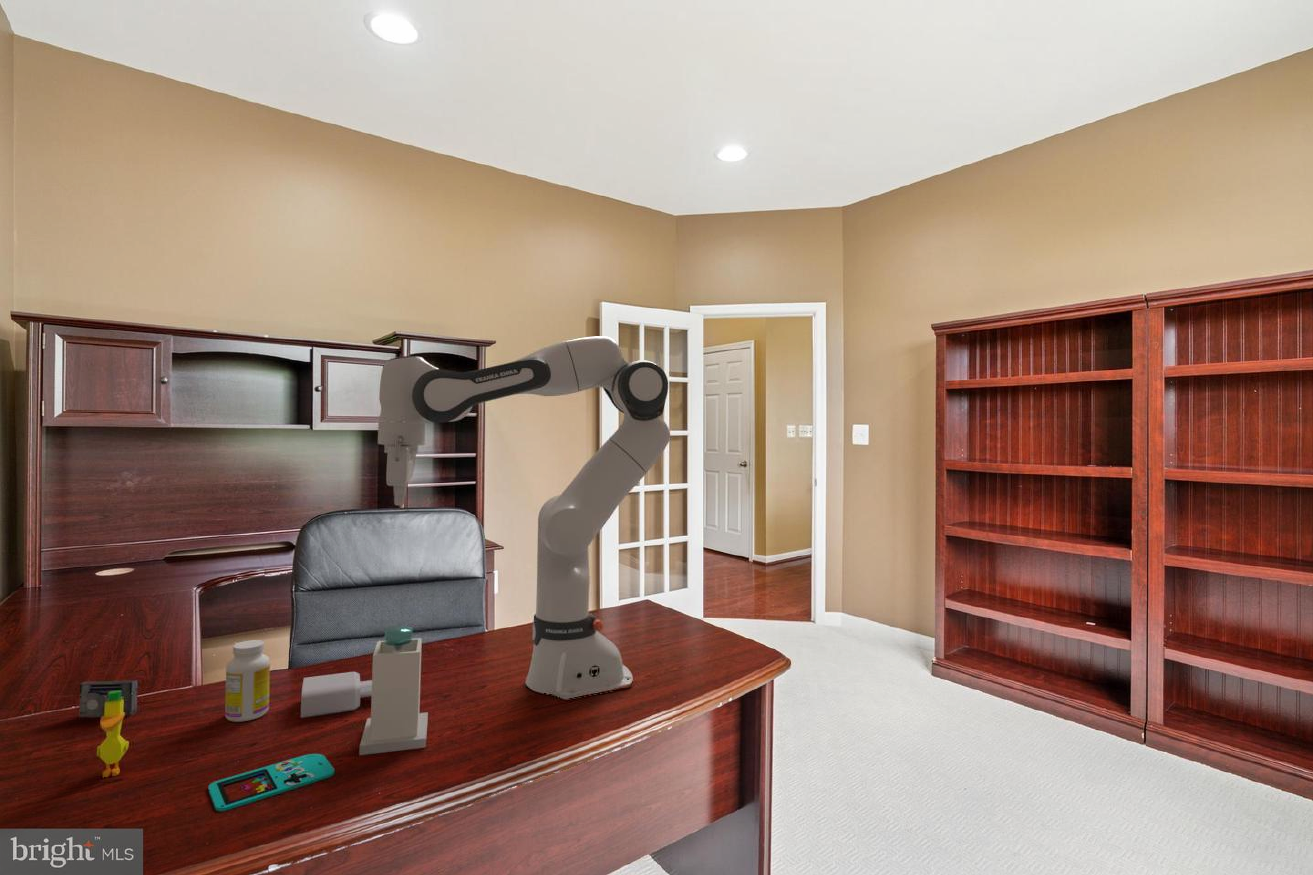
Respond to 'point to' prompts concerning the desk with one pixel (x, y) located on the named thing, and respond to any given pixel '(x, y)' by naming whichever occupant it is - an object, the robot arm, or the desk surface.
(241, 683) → the supplement bottle
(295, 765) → the handheld gaming console
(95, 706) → the mini dv tape
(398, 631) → the plunger
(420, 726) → the press housing
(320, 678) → the charger
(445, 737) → the desk surface
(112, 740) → the toy figure
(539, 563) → the robot arm
